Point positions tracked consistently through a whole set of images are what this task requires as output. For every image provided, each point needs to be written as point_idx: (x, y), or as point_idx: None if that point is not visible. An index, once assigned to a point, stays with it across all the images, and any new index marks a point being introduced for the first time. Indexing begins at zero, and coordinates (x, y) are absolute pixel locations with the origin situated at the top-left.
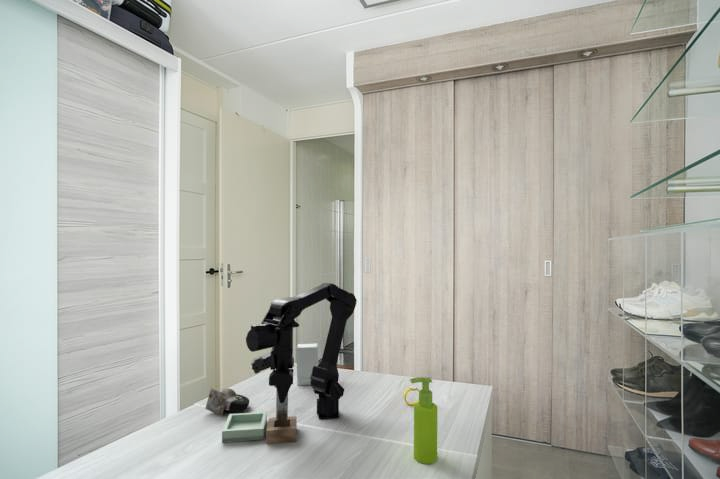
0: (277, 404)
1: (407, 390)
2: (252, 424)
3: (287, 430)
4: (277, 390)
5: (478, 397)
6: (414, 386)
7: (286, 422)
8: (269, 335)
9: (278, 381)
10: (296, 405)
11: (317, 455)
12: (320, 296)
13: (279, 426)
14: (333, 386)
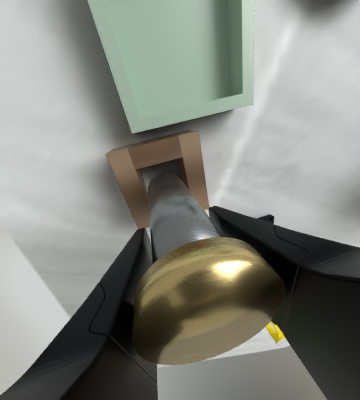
0: (154, 204)
1: (278, 333)
2: (203, 65)
3: (130, 209)
4: (84, 305)
5: (266, 347)
6: (284, 341)
7: (187, 186)
8: None
9: None
10: (309, 162)
11: (98, 261)
12: None
13: (181, 167)
14: (272, 320)
